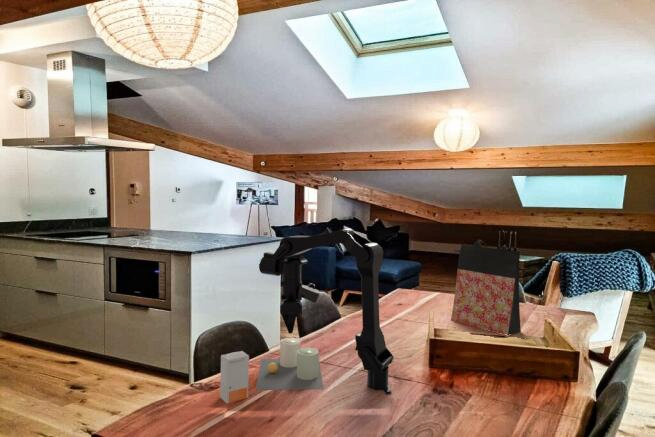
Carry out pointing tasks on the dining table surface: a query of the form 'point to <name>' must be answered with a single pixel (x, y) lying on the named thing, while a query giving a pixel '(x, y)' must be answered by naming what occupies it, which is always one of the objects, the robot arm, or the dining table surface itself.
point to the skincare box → (234, 376)
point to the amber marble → (272, 367)
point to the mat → (284, 378)
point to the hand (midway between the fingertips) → (290, 328)
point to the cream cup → (289, 352)
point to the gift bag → (487, 288)
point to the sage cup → (307, 363)
